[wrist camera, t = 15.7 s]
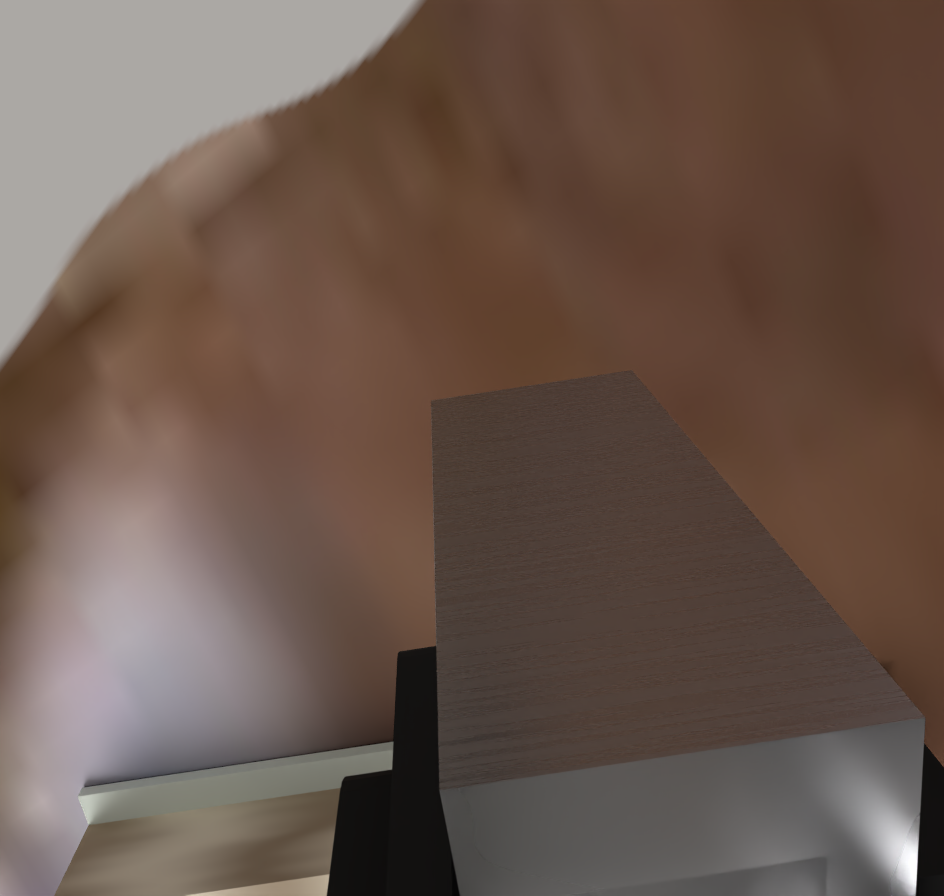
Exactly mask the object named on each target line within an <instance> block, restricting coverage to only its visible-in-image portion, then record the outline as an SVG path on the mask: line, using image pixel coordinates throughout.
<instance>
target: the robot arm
mask: <svg viewBox="0 0 944 896" xmlns="http://www.w3.org/2000/svg"><path fill="white" fill-rule="evenodd" d="M327 896H460V893H459V888H458V882H457V877H456V872H455V867H454V862H453V857H452V852H451V847H450V842H449V837H448V831H447V826H446V821H445V816H444V811H443V806H442V801H441V796H440V790H439V744H438V698H437V651H436V646H433V647H427V648H420V649H413V650H407V651H400V652H399V653H398V658H397V678H396V699H395V719H394V739H393V760H392V770H385V771H378V772H372V773H365V774H359V775H352V776H345V777H344V779H343V780H342V783H341V788H340V794H339V802H338V810H337V818H336V826H335V834H334V841H333V849H332V857H331V865H330V873H329V881H328V889H327ZM916 896H944V767H943V766H942V765H941V764H940V762H939V761H938V760H937V759H936V757H935V756H934V755H933V754H932V752H931V751H930V750H929V749H928V747H927V746H926V745H925V744H924V751H923V769H922V787H921V806H920V824H919V842H918V861H917V879H916Z"/></svg>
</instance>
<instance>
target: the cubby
mask: <svg viewBox="0 0 944 896" xmlns="http://www.w3.org/2000/svg"><path fill="white" fill-rule="evenodd" d="M339 794H340V788H336V789H330V790H323V791H316V792H309V793H303V794H296V795H289V796H282V797H276V798H269V799H262V800H255V801H249V802H242V803H235V804H228V805H221V806H215V807H208V808H201V809H194V810H188V811H181V812H174V813H167V814H161V815H154V816H147V817H140V818H134V819H127V820H120V821H113V822H107V823H100V824H93V825H89V826H88V828H87V830H86V832H85V834H84V836H83V838H82V840H81V842H80V844H79V846H78V848H77V850H76V852H75V854H74V856H73V858H72V861H71V863H70V865H69V867H68V869H67V871H66V873H65V875H64V877H63V879H62V881H61V883H60V885H59V887H58V889H57V891H56V893H55V896H327V889H328V881H329V873H330V865H331V857H332V849H333V841H334V834H335V826H336V818H337V810H338V802H339Z"/></svg>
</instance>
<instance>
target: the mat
mask: <svg viewBox="0 0 944 896" xmlns="http://www.w3.org/2000/svg"><path fill="white" fill-rule="evenodd" d="M392 760H393V742H387V743H381V744H374V745H367V746H360V747H354V748H347V749H340V750H333V751H327V752H320V753H313V754H306V755H300V756H293V757H286V758H279V759H273V760H266V761H259V762H252V763H246V764H239V765H232V766H225V767H219V768H212V769H205V770H198V771H192V772H185V773H178V774H171V775H165V776H158V777H151V778H144V779H138V780H131V781H124V782H117V783H111V784H104V785H97V786H90V787H84V788H82V789H81V791H80V793H79V795H78V799H79V801H80V804H81V806H82V809H83V812H84V814H85V817H86V819H87V822H88V825H93V824H100V823H107V822H113V821H120V820H127V819H134V818H140V817H147V816H154V815H161V814H167V813H174V812H181V811H188V810H194V809H201V808H208V807H215V806H221V805H228V804H235V803H242V802H249V801H255V800H262V799H269V798H276V797H282V796H289V795H296V794H303V793H309V792H316V791H323V790H330V789H336V788H341V783H342V780H343V779H344V777H345V776H352V775H359V774H365V773H372V772H378V771H385V770H392Z"/></svg>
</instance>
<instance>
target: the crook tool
mask: <svg viewBox="0 0 944 896" xmlns="http://www.w3.org/2000/svg"><path fill="white" fill-rule="evenodd" d="M431 420H432V466H433V512H434V559H435V605H436V651H437V698H438V744H439V790H440V796H441V801H442V806H443V811H444V816H445V821H446V826H447V831H448V837H449V842H450V847H451V852H452V857H453V862H454V867H455V872H456V877H457V882H458V888H459V893H460V896H916V879H917V861H918V842H919V824H920V806H921V787H922V769H923V751H924V733H925V717H924V716H923V714H922V713H921V712H920V711H919V710H918V708H917V707H916V706H915V705H914V704H913V702H912V701H911V700H910V699H909V698H908V697H907V695H906V694H905V693H904V692H903V691H902V689H901V688H900V687H899V686H898V685H897V684H896V682H895V681H894V680H893V679H892V678H891V676H890V675H889V674H888V673H887V672H886V671H885V669H884V668H883V667H882V666H881V665H880V663H879V662H878V661H877V660H876V659H875V657H874V656H873V655H872V654H871V653H870V652H869V650H868V649H867V648H866V647H865V646H864V644H863V643H862V642H861V641H860V640H859V639H858V637H857V636H856V635H855V634H854V633H853V631H852V630H851V629H850V628H849V627H848V626H847V624H846V623H845V622H844V621H843V620H842V618H841V617H840V616H839V615H838V614H837V613H836V611H835V610H834V609H833V608H832V607H831V605H830V604H829V603H828V602H827V601H826V599H825V598H824V597H823V596H822V595H821V594H820V592H819V591H818V590H817V589H816V588H815V586H814V585H813V584H812V583H811V582H810V581H809V579H808V578H807V577H806V576H805V575H804V573H803V572H802V571H801V570H800V569H799V568H798V566H797V565H796V564H795V563H794V562H793V560H792V559H791V558H790V557H789V556H788V555H787V553H786V552H785V551H784V550H783V549H782V547H781V546H780V545H779V544H778V543H777V541H776V540H775V539H774V538H773V537H772V536H771V534H770V533H769V532H768V531H767V530H766V528H765V527H764V526H763V525H762V524H761V523H760V521H759V520H758V519H757V518H756V517H755V515H754V514H753V513H752V512H751V511H750V510H749V508H748V507H747V506H746V505H745V504H744V502H743V501H742V500H741V499H740V498H739V497H738V495H737V494H736V493H735V492H734V491H733V489H732V488H731V487H730V486H729V485H728V483H727V482H726V481H725V480H724V479H723V478H722V476H721V475H720V474H719V473H718V472H717V470H716V469H715V468H714V467H713V466H712V465H711V463H710V462H709V461H708V460H707V459H706V457H705V456H704V455H703V454H702V453H701V452H700V450H699V449H698V448H697V447H696V446H695V444H694V443H693V442H692V441H691V440H690V438H689V437H688V436H687V435H686V434H685V433H684V431H683V430H682V429H681V428H680V427H679V425H678V424H677V423H676V422H675V421H674V420H673V418H672V417H671V416H670V415H669V414H668V412H667V411H666V410H665V409H664V408H663V407H662V405H661V404H660V403H659V402H658V401H657V399H656V398H655V397H654V396H653V395H652V394H651V392H650V391H649V390H648V389H647V388H646V386H645V385H644V384H643V383H642V382H641V380H640V379H639V378H638V377H637V376H636V375H635V373H634V372H633V371H632V370H630V371H624V372H617V373H611V374H604V375H597V376H591V377H584V378H578V379H571V380H564V381H558V382H551V383H545V384H538V385H531V386H525V387H518V388H512V389H505V390H498V391H492V392H485V393H479V394H472V395H465V396H459V397H452V398H446V399H439V400H432V401H431Z"/></svg>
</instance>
